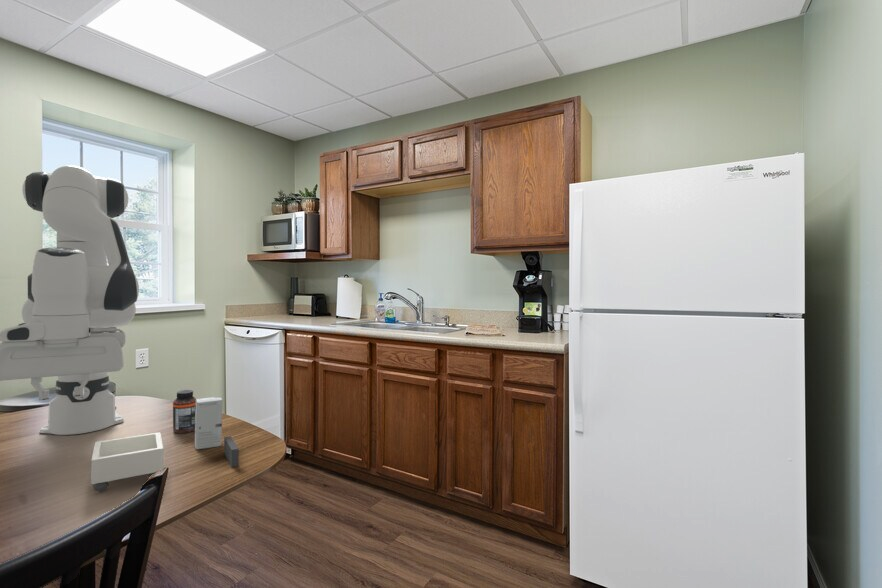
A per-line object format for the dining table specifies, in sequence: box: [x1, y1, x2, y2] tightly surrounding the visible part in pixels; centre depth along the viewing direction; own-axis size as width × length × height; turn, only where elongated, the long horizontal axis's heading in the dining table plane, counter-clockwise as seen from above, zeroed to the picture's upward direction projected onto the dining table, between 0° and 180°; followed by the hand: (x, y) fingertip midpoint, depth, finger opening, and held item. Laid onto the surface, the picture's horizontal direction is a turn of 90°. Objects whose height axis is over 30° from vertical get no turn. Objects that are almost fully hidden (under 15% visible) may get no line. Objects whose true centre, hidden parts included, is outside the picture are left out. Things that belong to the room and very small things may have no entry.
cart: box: [90, 431, 164, 493], centre depth 96 cm, size 12×12×7 cm
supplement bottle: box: [172, 389, 197, 434], centre depth 128 cm, size 6×6×11 cm
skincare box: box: [194, 396, 224, 450], centre depth 117 cm, size 6×4×12 cm
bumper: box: [223, 436, 240, 468], centre depth 108 cm, size 10×2×4 cm, turn 35°
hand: (62, 397), depth 90 cm, fingers open, 4 cm apart
